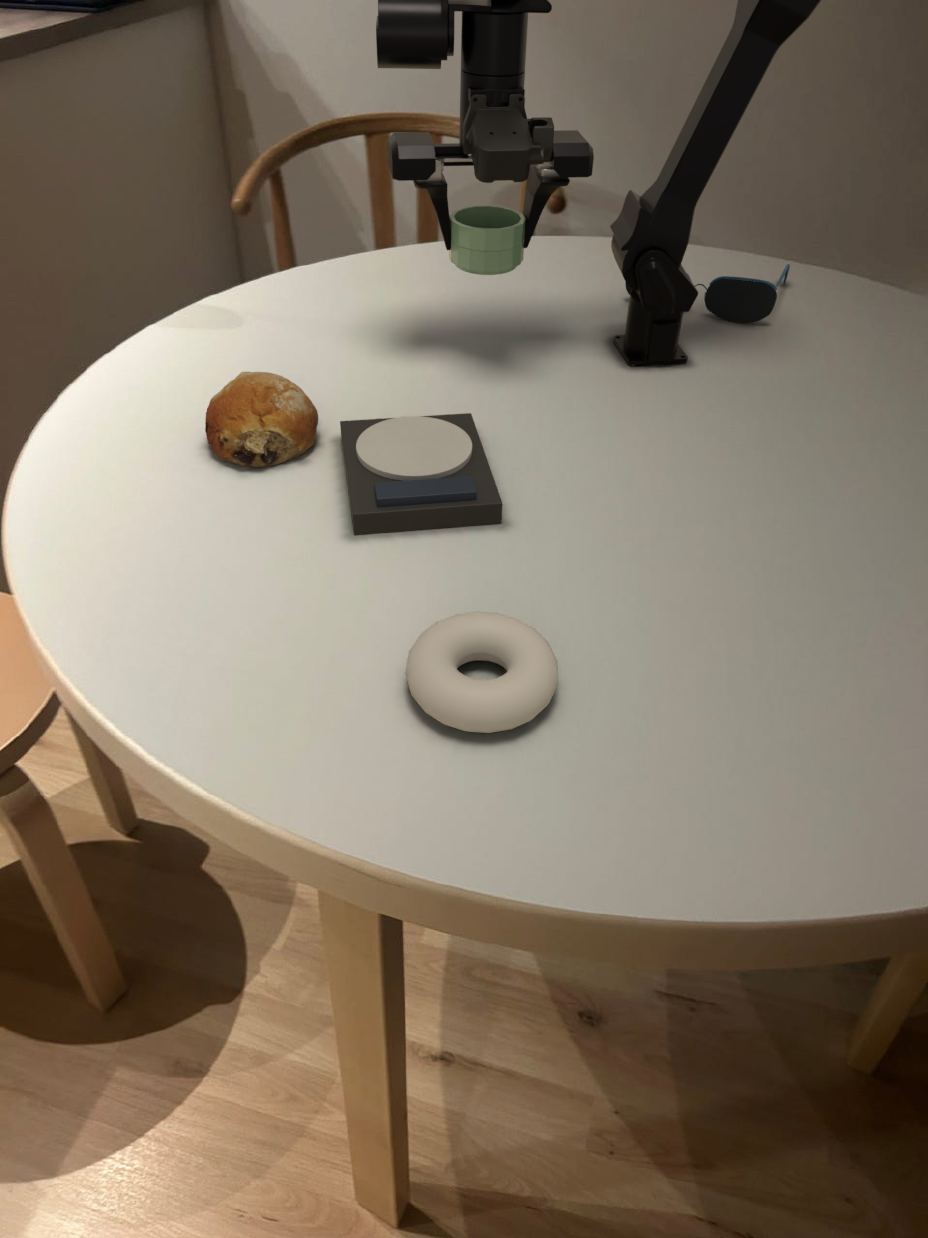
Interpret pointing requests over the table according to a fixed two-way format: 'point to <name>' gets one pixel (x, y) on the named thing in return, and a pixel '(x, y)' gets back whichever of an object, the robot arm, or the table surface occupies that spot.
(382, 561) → the table surface
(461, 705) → the donut
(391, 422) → the scale
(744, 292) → the sunglasses
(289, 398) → the bread roll
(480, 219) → the bowl
